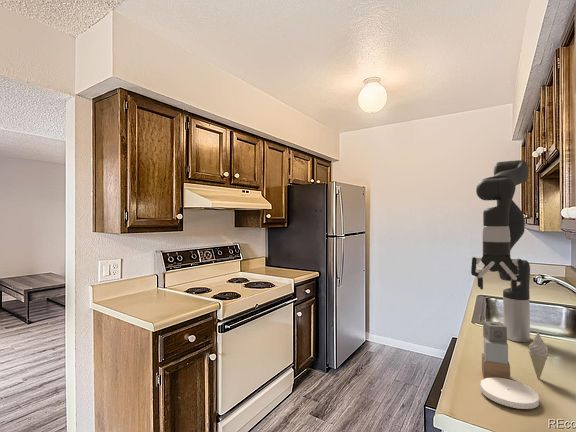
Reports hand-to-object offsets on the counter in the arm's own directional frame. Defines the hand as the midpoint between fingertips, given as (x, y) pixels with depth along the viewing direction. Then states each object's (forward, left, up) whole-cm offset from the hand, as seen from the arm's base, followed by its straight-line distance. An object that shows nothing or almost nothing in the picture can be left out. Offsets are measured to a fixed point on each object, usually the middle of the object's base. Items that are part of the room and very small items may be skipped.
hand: (496, 290), depth 105 cm
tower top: (+1, -1, -22) cm, 22 cm away
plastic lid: (+13, +1, -29) cm, 31 cm away
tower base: (+1, -1, -28) cm, 28 cm away
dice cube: (0, -1, -16) cm, 16 cm away
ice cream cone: (-4, +11, -28) cm, 31 cm away
